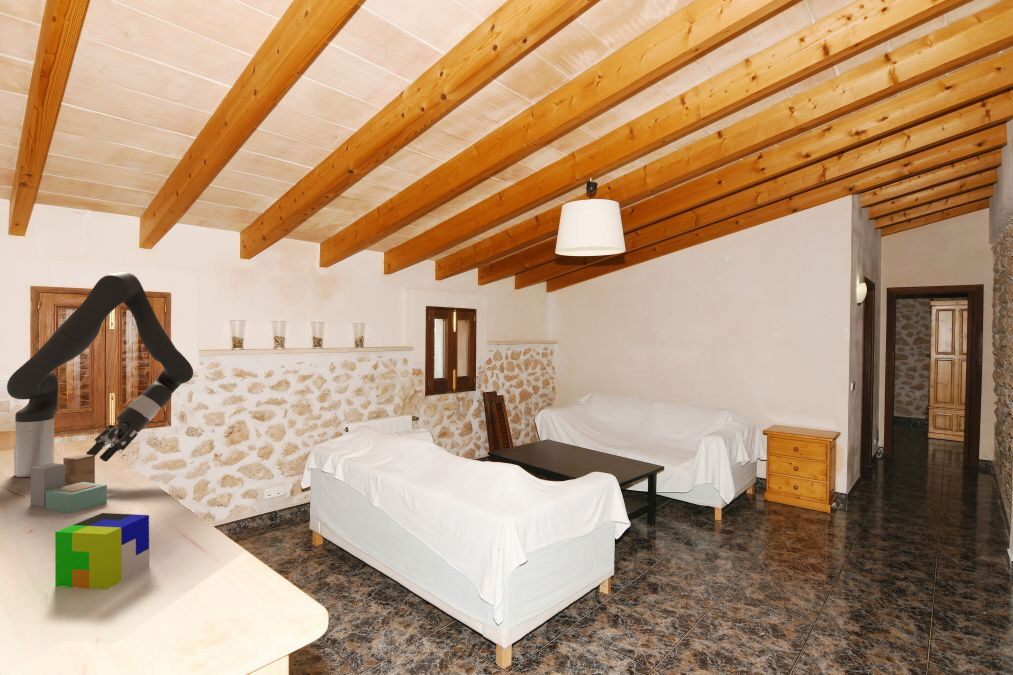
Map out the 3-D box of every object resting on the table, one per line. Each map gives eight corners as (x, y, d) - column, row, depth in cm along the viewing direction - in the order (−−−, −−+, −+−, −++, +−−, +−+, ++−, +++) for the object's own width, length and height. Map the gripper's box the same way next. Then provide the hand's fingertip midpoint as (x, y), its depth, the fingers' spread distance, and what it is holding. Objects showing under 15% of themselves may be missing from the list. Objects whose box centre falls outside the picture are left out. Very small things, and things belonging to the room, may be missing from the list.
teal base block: (45, 510, 137) (45, 490, 137) (82, 499, 145) (82, 481, 145) (70, 514, 134) (70, 494, 134) (106, 503, 143) (106, 484, 142)
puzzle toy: (149, 565, 105) (149, 515, 105) (106, 589, 95) (106, 534, 95) (102, 562, 106) (102, 512, 106) (55, 586, 96) (55, 531, 96)
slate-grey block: (30, 505, 140) (30, 467, 139) (51, 499, 144) (51, 462, 144) (44, 507, 138) (44, 469, 138) (65, 501, 143) (64, 464, 143)
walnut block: (63, 493, 150) (63, 457, 150) (82, 488, 155) (82, 453, 155) (76, 494, 149) (76, 459, 148) (94, 489, 153) (94, 455, 153)
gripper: (118, 404, 166) (73, 447, 156) (141, 407, 159) (96, 453, 149) (137, 418, 171) (95, 462, 161) (160, 423, 163) (117, 468, 153)
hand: (95, 458), depth 155 cm, fingers open, 8 cm apart
